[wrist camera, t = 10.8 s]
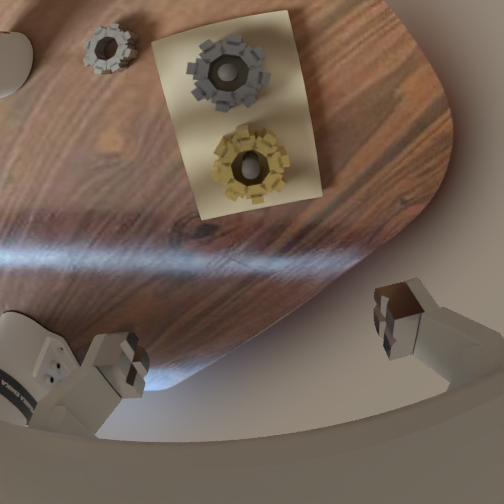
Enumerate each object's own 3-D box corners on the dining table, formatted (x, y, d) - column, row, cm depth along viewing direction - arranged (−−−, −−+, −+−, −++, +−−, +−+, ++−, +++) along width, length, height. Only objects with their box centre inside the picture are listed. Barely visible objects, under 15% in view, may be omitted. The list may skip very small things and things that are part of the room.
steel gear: (282, 82, 24) (287, 83, 21) (221, 122, 26) (218, 127, 23) (239, 26, 21) (238, 19, 19) (178, 68, 23) (170, 66, 21)
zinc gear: (147, 57, 24) (139, 55, 22) (103, 83, 25) (94, 84, 23) (128, 17, 21) (119, 13, 20) (85, 44, 22) (75, 43, 20)
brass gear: (290, 184, 29) (295, 196, 26) (224, 197, 30) (221, 211, 27) (278, 117, 26) (281, 122, 23) (206, 133, 26) (201, 139, 24)
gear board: (319, 190, 31) (332, 213, 26) (203, 213, 32) (195, 240, 27) (285, 13, 22) (293, -1, 17) (155, 43, 23) (136, 37, 18)
